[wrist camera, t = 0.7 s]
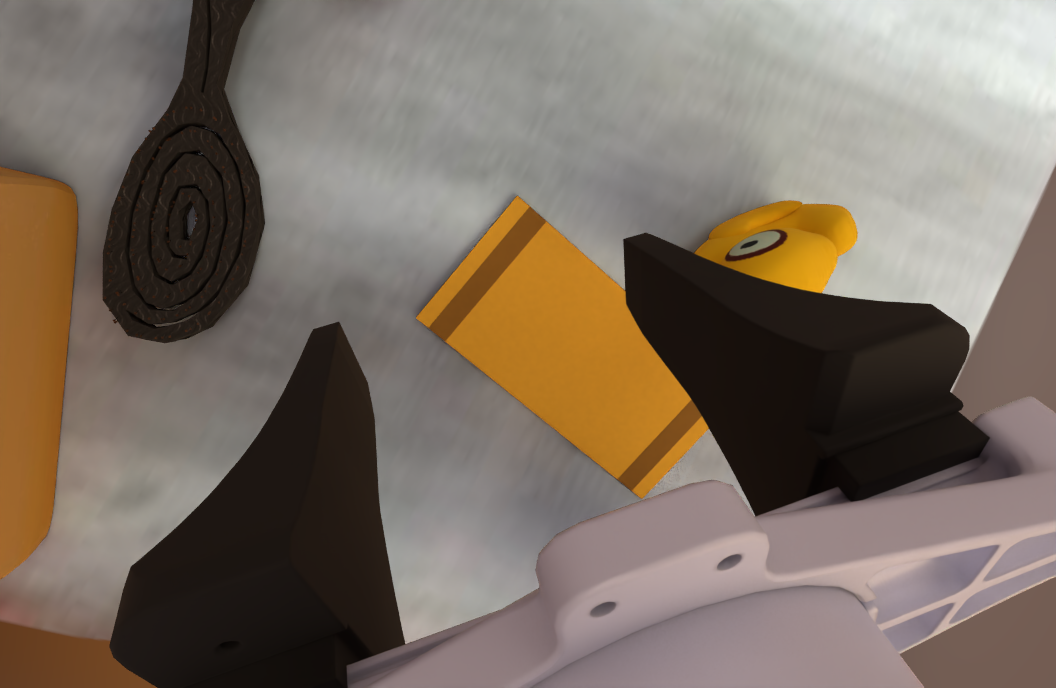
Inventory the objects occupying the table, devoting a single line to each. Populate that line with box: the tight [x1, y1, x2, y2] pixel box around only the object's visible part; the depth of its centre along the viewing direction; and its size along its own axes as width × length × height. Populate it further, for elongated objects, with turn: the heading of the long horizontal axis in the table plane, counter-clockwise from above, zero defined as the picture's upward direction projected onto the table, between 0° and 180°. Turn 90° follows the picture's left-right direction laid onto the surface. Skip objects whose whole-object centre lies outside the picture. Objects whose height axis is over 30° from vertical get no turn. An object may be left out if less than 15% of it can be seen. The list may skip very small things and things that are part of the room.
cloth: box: [416, 196, 709, 499], centre depth 38 cm, size 20×10×1 cm, turn 49°
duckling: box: [694, 201, 858, 293], centre depth 32 cm, size 11×5×10 cm, turn 116°
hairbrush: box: [103, 0, 265, 343], centre depth 32 cm, size 8×4×25 cm
